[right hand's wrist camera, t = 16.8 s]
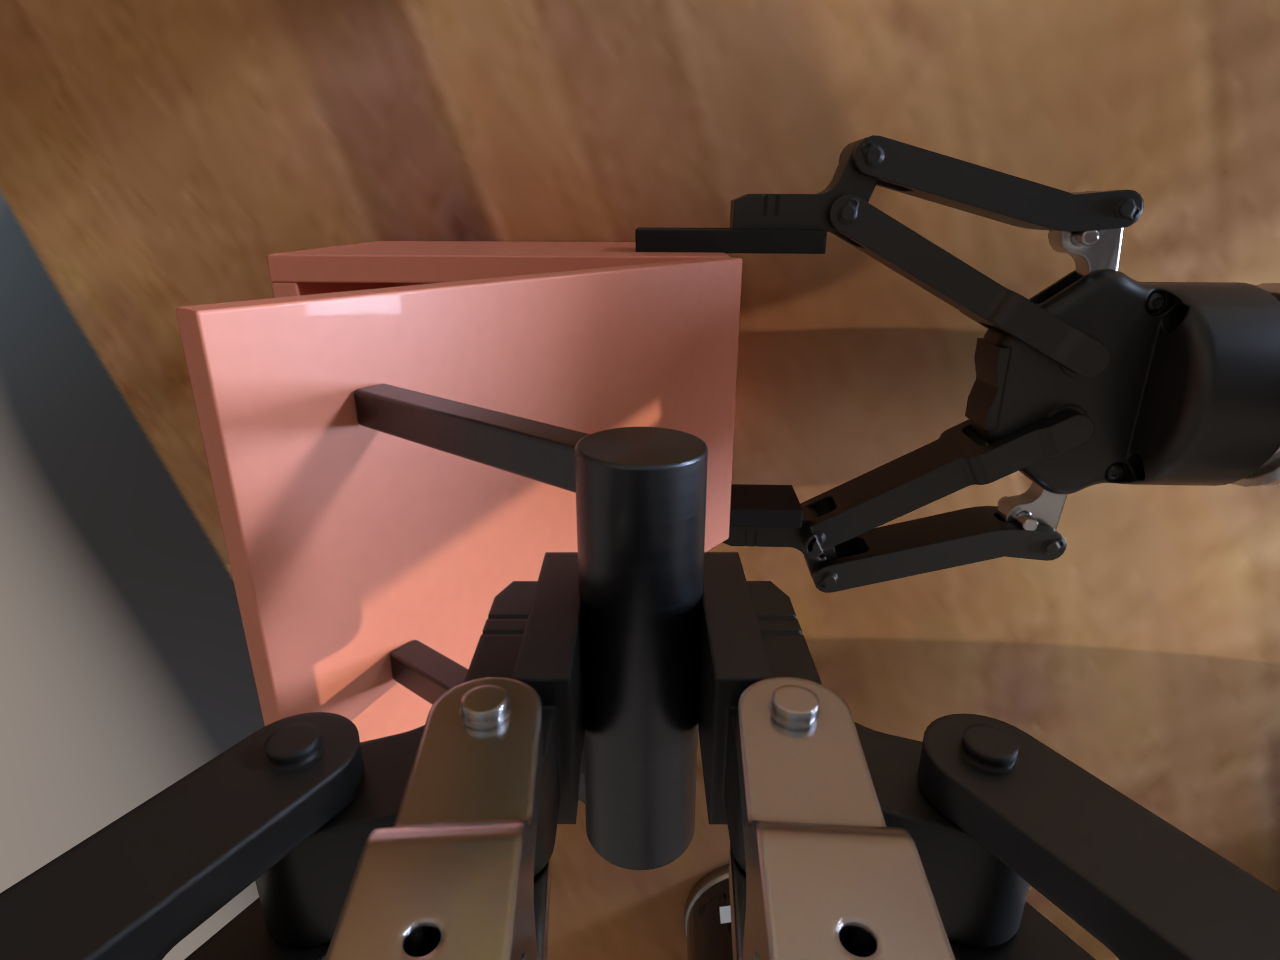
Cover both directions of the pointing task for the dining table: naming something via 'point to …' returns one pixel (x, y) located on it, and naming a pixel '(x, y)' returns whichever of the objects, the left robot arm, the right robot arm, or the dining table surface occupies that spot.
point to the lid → (482, 499)
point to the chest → (445, 262)
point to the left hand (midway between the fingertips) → (636, 379)
